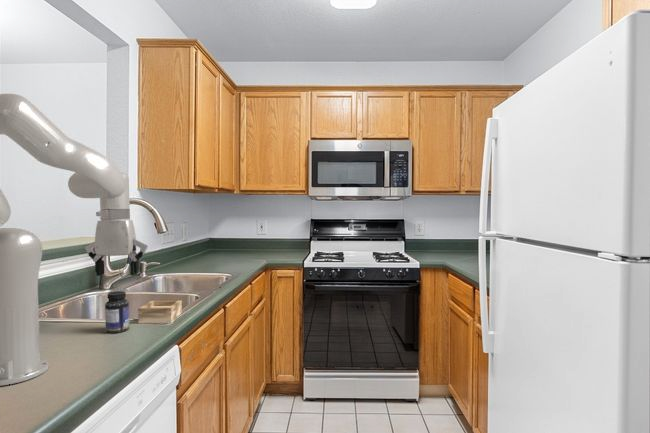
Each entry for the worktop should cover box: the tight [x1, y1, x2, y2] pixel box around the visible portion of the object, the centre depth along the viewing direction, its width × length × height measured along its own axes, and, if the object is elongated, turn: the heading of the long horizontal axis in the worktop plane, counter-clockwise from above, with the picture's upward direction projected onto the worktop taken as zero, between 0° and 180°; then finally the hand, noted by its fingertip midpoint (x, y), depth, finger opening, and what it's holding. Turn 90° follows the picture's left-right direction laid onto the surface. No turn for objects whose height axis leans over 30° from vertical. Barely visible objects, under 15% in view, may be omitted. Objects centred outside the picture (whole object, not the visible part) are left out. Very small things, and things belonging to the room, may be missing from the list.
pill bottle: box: [104, 290, 130, 334], centre depth 119 cm, size 6×6×11 cm
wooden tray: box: [137, 300, 183, 324], centre depth 131 cm, size 10×10×4 cm
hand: (117, 274), depth 119 cm, fingers open, 9 cm apart
